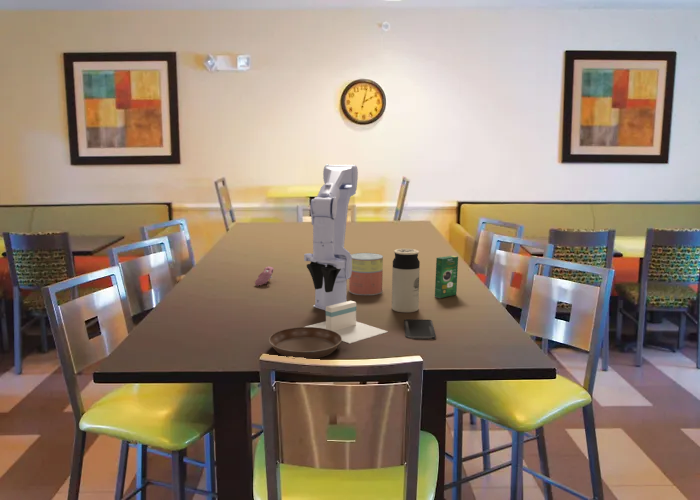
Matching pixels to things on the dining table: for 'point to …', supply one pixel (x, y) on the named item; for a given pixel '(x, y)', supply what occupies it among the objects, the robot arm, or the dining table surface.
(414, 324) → the phone
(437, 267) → the coffee box
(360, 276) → the canned food
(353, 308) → the card deck
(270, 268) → the pink bird figurine
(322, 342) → the plant saucer
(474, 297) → the dining table surface
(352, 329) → the mat
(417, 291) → the travel mug
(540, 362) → the dining table surface
